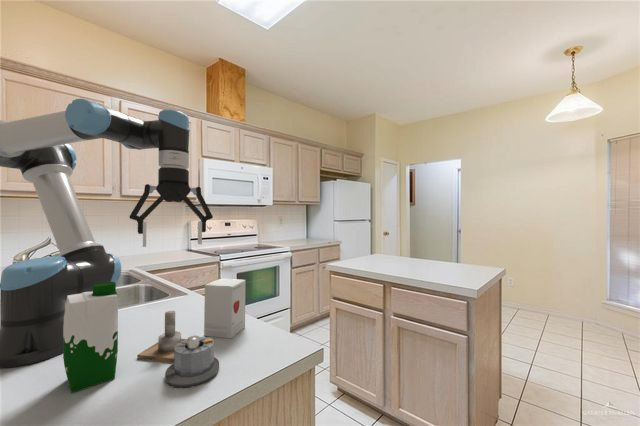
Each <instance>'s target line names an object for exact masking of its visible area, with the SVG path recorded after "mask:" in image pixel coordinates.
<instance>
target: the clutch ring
mask: <svg viewBox="0 0 640 426" xmlns="http://www.w3.org/2000/svg"><path fill="white" fill-rule="evenodd" d="M185 339H186V340H184V341H181V342H179V343H178V344H177V345H176V346H175V347H174V363H173V364H174V373H175V375H177V376H179V377H195V376H199V375H202V374H204V373H206V372H208V371H209V370H211V368H212V367H213V365H214V357H215V341H214V339H213V338H211V337H209V336H207V337H206V336H199V348H196V349H187V340H188V338H185Z"/></svg>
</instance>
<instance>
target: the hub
mask: <svg viewBox="0 0 640 426" xmlns="http://www.w3.org/2000/svg"><path fill="white" fill-rule="evenodd" d="M199 337H200V336H199V335H191V336H189V337H188V338H187V339H188V340H187V349H196V348H199ZM219 372H220V361H219V360H218V358H217V357H215V356H214V365H213V367H212V368H211V370H209V371H208V372H206V373H204V374H202V375H199V376H195V377H179V376H177V375H175V373H174V363H171V365H169V366H168V367H167V368H166V370H165V373H164V381H165V384H166V385H168V386H169V387H171V388H175V389H188V388H194V387H198V386H200V385H203V384H206V383H207V382H209V381H211V380H212V379H214V378H215V377H216V376H217V375H218V374H219Z"/></svg>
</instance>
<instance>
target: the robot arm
mask: <svg viewBox="0 0 640 426" xmlns="http://www.w3.org/2000/svg"><path fill="white" fill-rule="evenodd" d="M190 131H191V130H190V120H189V117H188V114H186V113H184V112H182V111H180V110H175V109H162V110H160V111H159V112H158V117H157V120H141V119H139V118H136V117H134V116H132V115H129V114H126V113H124V112H120V111H118V110H115V109H113V108H111V107H108V106H106V105H103V104H102V103H99V102H96V101H93V100H89V99H87V98H75V99H73V100H72V102H71V103H68V105H67V106H66V109H65V110H63V111H58V112H51V113H48V114H43V115H36V116H32V117H28V118H21V119H17V120H12V121H5V120H0V167H3V168H8V169H9V168H10V169H15V170H20V172H21V175H22V177H23V180H25V181H26V182H29V183H31V184H32V185H33V187H34V190H35V192H36V195H37V197H38V199H39V203H40V205H41V207H42V210H43V213H44V215H45V218H46V220H47V223H48V225H49V229H50V231H51V233H52V235H53V238H54V241H55V244H56V246H57V248H58V251H59V254H58V255H55V256H53V255H52V256H50V255H49V256H43V257H36V258H31V259H26V260H25V259H24V260H21V261H17V262H15V263H12V264H9V265H7V266H6V267H5V268H4V269H3V270H2V272H1V274H0V275H1V276H0V368H2V369H5V368H14V367H21V366H26V365H30V364H34V363H38V362H41V361H46V360H48V359H51V358H54V357H56V356H58V355H60V354H63V326H64V314H65V308H66V301H67V296H68V295H74V294H81V293H83V292H92V291H93V285H94V284H97V283H103V282H115V283H116V285H117V284H118V283H119V281H120V278H121V276H122V271H123V270H122V262H121V261H120V259H119V257H118V256H117V255H115V254H112V253H107V252H106V249H105V247H104V245H103V244H101V243H97V242H96V241H95V238H94V236H93V233H92V231H91V228H90V225H89V224H88V221H87V218H86V215H85V214H84V211H83V209H82V206H81V203H80V201H79V198H78V196H77V194H76V191H75V189H74V186H73V184H72V181H71V179H70V177H71V176H72V175H73V173H74V172H73V171H74V170H75V168H76V166H77V162H76V161H77V154H76V151H75V149H74V147H72V146H71V144H74V143H79V142H85V141H92V140H98V139H106V140H108V141H112V142H115V143H119V144H121V145H123V146H124V147H125V148H126V149H129V150H139V151H140V150H149V149H158V167H159V169H157V170H158V173H157V175H158V177H157V178H158V181H157V185H151V184H149V183H147V184H144V188H143V189H144V190H143V193H142V194H141V197H140V198H139V200H138V201H137V203H136V204H135V206H134V208H133V210H132V212H131V213H130V214H129V219H130V220H133V221H136V222H137V234H138V235H142V248H145V247H147V221H144V220H145V219H146V218H147V217H148V216H149V215H150V214H151V213H152V212H153V211H154V210H155V209H156V208H157V207H158V206H159V205H160V204H161V203H162V202H163V201H165V202H167V203H172V202H175V203H181V202H184V203H185V204H186V205H187V206H188V208H189V209H190V210H191V211H192V212H193V213H194V214H195V215H196V216H197V218H198V219H199V220H200V221H199V220H198V221H197V244H198V245H202V244H203V233H206V231H207V221H209V220H212V219H213V218H214V217H213V216H214V215H213V214H212V212H211V210H210V208H209V206H208V205H207V203H206V201H205V198H204V196H203V195H202V188H201V186H196V187H190V175H189V174H190V171H189V170H188V169H189V168H190V164H189V163H190V150H189V148H190ZM154 191H156V192H157V193H158V194H159V197H158V198H157V199H156V200H154V202H153V203H152V204H150V205H149V207H148V208H146V209H145V211H143V212H142V214H140V216H139V215H138V214H139V212H140V210H142V207H143V205H144V204H145V203H146V201H147V199H148V198H149V195H150V194H153V192H154ZM190 193H192V194H193V195H194V196H196V198H197V201H198V202H199V205H200V206H201V209H202V210H203V212H204V214H205V215H204V214H203V213H202V212H201V211H200V210H199V208H198V207H197V206H196V205H195V204H194V203H193V202H192V200H190V198H189V197H188V195H189V194H190Z"/></svg>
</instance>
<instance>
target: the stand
mask: <svg viewBox="0 0 640 426" xmlns="http://www.w3.org/2000/svg"><path fill="white" fill-rule="evenodd" d="M186 339H187V338H182V332H180V331H176V311H175V310H167V311H165V312H164V332H163V333H162V334H159V336H158V339H157V340H158V342H155V344H152V345H151V346H149V347H148V348H146V349H144V350H143V351H141V352H139V353H138V354H137V355H136V357H137V360H145V361H153V362H163V363H171V364H174V347H175V346H176V345H177V344H178V343H179V342H181V341H184V340H186Z"/></svg>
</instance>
